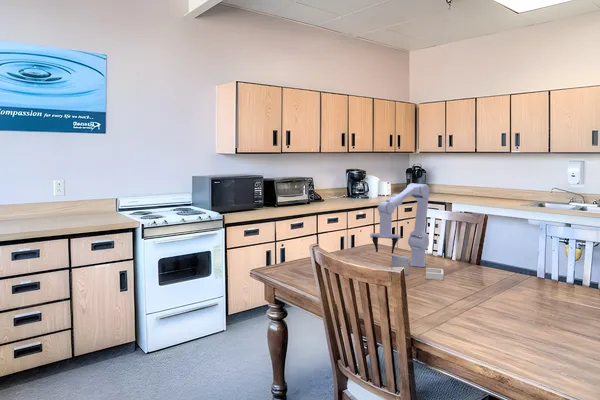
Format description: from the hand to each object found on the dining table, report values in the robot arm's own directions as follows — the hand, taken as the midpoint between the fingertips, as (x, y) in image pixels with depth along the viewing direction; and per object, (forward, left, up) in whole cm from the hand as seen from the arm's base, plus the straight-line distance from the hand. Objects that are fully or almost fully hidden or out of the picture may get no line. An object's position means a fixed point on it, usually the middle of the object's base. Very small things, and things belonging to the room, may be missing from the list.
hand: (384, 252), depth 210 cm
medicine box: (-1, +8, -11) cm, 13 cm away
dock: (-1, +24, -10) cm, 26 cm away
